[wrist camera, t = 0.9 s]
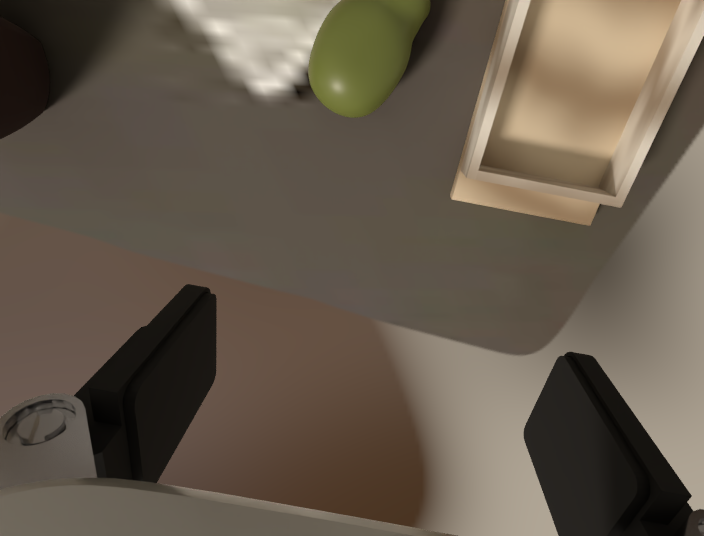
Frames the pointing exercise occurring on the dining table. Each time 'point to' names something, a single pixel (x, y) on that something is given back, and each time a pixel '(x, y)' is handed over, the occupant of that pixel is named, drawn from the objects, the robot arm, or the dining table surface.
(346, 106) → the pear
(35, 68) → the mug
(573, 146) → the open rectangular box
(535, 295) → the dining table surface
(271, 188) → the dining table surface
